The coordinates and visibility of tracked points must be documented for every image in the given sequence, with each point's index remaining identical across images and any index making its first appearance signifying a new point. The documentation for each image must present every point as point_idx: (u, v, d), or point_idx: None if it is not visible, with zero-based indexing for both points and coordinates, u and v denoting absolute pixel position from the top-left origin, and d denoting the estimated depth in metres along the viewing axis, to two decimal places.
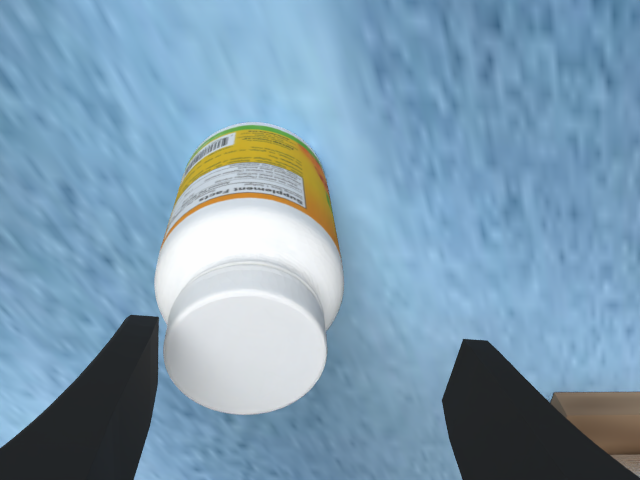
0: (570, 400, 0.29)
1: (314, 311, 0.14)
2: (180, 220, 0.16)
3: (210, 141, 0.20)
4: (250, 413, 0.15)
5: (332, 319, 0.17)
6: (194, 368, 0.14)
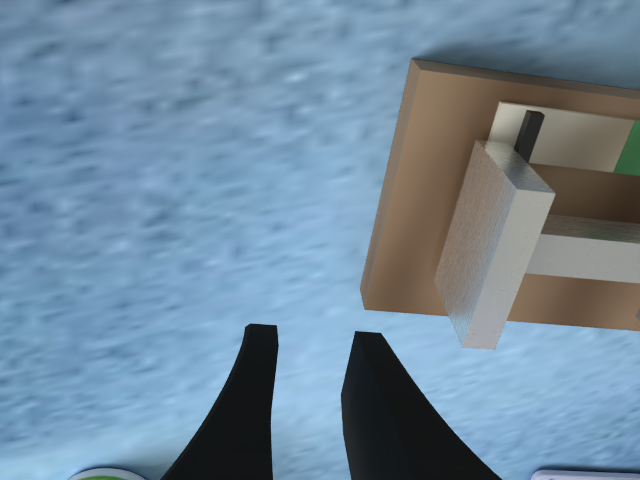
0: (364, 284, 0.25)
1: None
2: None
3: None
4: None
5: None
6: None
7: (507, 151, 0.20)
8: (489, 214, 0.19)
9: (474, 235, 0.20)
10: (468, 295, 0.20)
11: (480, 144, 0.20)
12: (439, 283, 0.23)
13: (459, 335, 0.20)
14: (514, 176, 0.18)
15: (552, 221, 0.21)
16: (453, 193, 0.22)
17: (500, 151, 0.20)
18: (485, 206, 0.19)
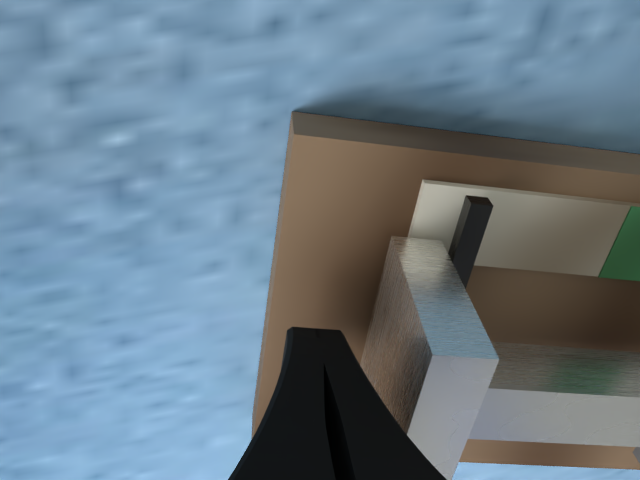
0: (253, 413, 0.18)
1: None
2: None
3: None
4: None
5: None
6: None
7: (435, 261, 0.13)
8: (401, 371, 0.12)
9: (385, 390, 0.13)
10: None
11: (394, 247, 0.13)
12: None
13: None
14: (435, 320, 0.11)
15: (509, 358, 0.14)
16: (363, 305, 0.15)
17: (424, 261, 0.13)
18: (396, 351, 0.12)
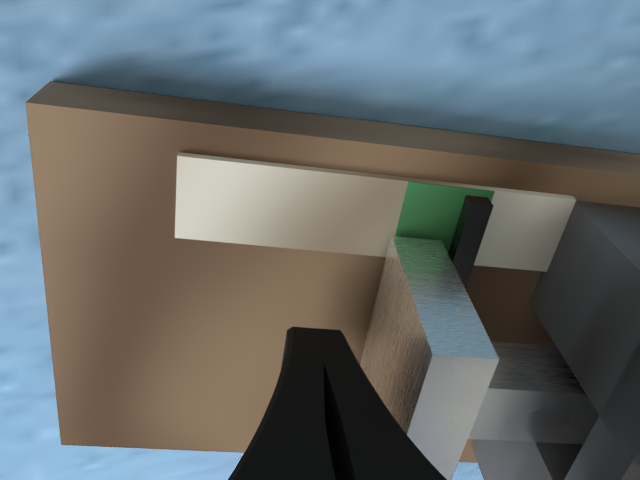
0: None
1: None
2: None
3: None
4: None
5: None
6: None
7: (435, 260, 0.13)
8: (401, 371, 0.12)
9: (385, 390, 0.13)
10: None
11: (395, 246, 0.13)
12: None
13: None
14: (435, 320, 0.11)
15: (509, 357, 0.14)
16: (146, 288, 0.14)
17: (424, 261, 0.13)
18: (396, 351, 0.12)
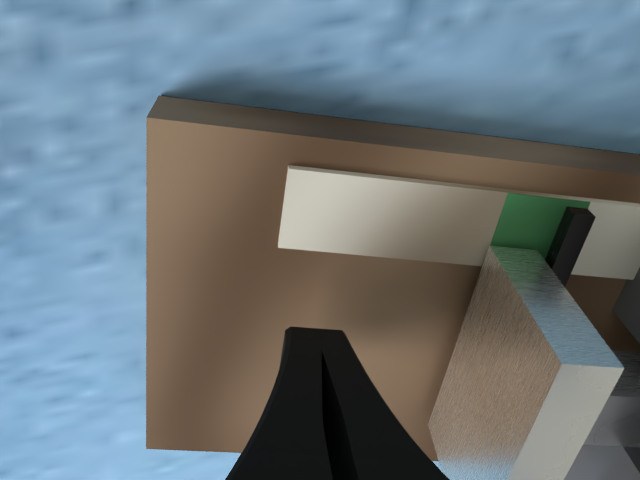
0: None
1: None
2: None
3: None
4: None
5: None
6: None
7: (537, 270, 0.13)
8: (513, 378, 0.12)
9: (488, 396, 0.13)
10: None
11: (496, 256, 0.13)
12: (436, 436, 0.16)
13: None
14: (554, 329, 0.11)
15: None
16: (243, 296, 0.14)
17: (526, 270, 0.13)
18: (504, 359, 0.12)
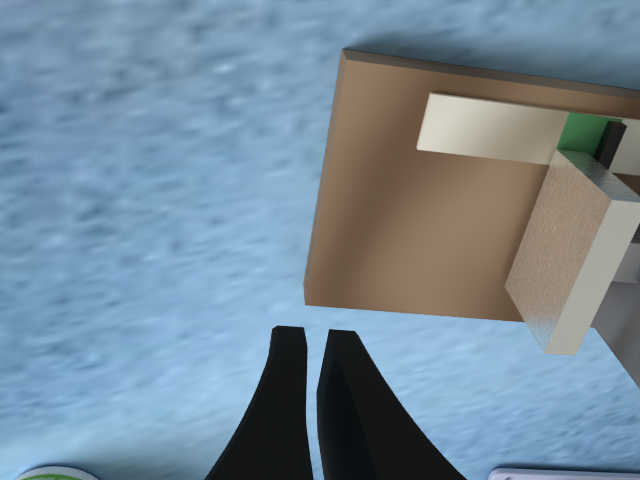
0: (306, 279, 0.25)
1: None
2: None
3: None
4: None
5: None
6: None
7: (589, 161, 0.20)
8: (577, 224, 0.19)
9: (557, 243, 0.20)
10: (550, 302, 0.20)
11: (561, 154, 0.20)
12: (512, 290, 0.23)
13: (540, 341, 0.21)
14: (604, 186, 0.18)
15: None
16: (389, 186, 0.22)
17: (582, 161, 0.20)
18: (570, 215, 0.20)
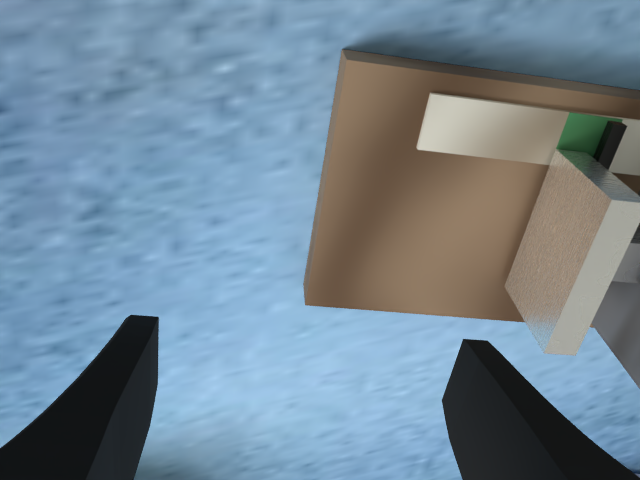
0: (306, 279, 0.25)
1: None
2: None
3: None
4: None
5: None
6: None
7: (589, 161, 0.20)
8: (577, 223, 0.19)
9: (557, 243, 0.20)
10: (550, 302, 0.20)
11: (561, 154, 0.20)
12: (512, 290, 0.23)
13: (540, 341, 0.21)
14: (604, 186, 0.18)
15: None
16: (389, 186, 0.22)
17: (582, 161, 0.20)
18: (570, 215, 0.20)
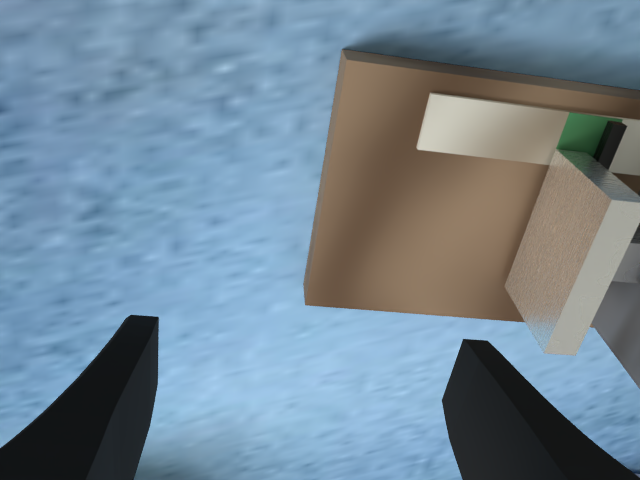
0: (306, 279, 0.25)
1: None
2: None
3: None
4: None
5: None
6: None
7: (589, 161, 0.20)
8: (577, 223, 0.19)
9: (557, 243, 0.20)
10: (550, 302, 0.20)
11: (561, 154, 0.20)
12: (512, 290, 0.23)
13: (540, 341, 0.21)
14: (604, 186, 0.18)
15: None
16: (389, 186, 0.22)
17: (582, 161, 0.20)
18: (570, 215, 0.20)
